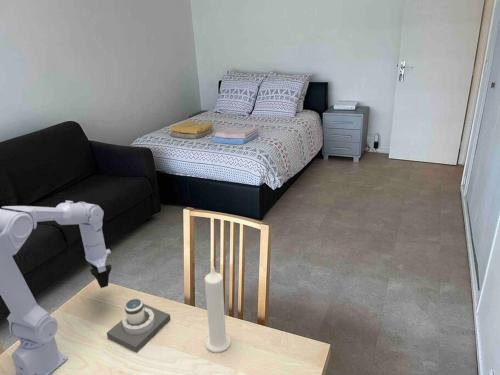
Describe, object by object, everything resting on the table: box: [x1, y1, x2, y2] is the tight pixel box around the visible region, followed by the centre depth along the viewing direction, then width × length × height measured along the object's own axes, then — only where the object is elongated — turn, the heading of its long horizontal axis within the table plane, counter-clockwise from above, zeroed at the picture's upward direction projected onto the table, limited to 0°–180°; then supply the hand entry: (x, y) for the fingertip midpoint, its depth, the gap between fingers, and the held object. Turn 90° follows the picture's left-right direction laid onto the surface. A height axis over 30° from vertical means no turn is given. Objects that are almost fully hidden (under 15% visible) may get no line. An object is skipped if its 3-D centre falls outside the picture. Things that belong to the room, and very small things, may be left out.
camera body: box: [106, 303, 171, 353], centre depth 109 cm, size 14×11×4 cm
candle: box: [204, 266, 232, 354], centre depth 100 cm, size 7×7×25 cm
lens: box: [124, 298, 146, 326], centre depth 108 cm, size 5×5×7 cm
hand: (101, 279), depth 117 cm, fingers open, 7 cm apart
